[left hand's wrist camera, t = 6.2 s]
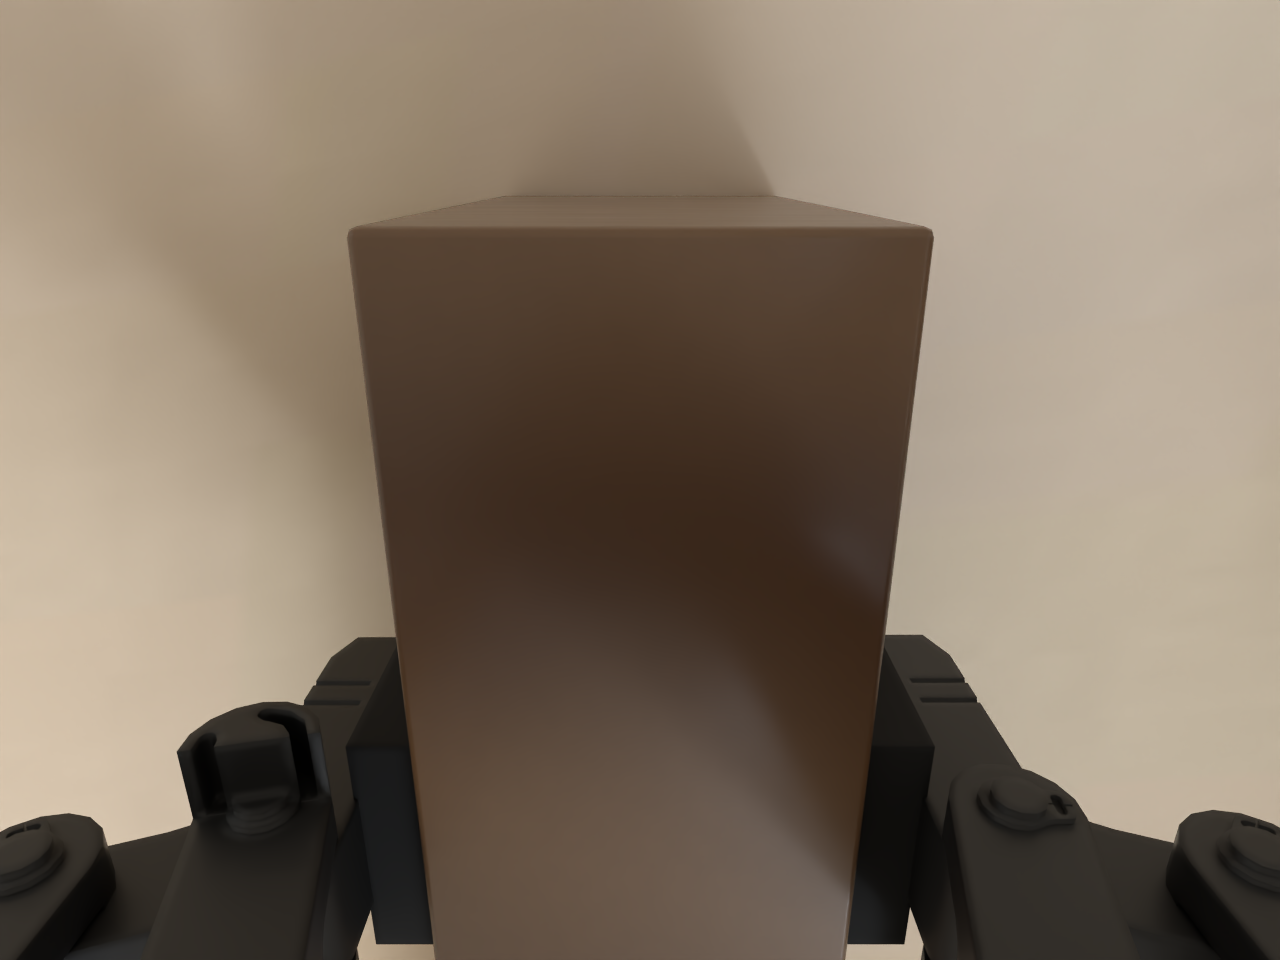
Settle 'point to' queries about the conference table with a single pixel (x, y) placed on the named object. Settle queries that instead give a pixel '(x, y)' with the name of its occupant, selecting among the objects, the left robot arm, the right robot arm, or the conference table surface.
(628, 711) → the beam
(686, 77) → the conference table surface
